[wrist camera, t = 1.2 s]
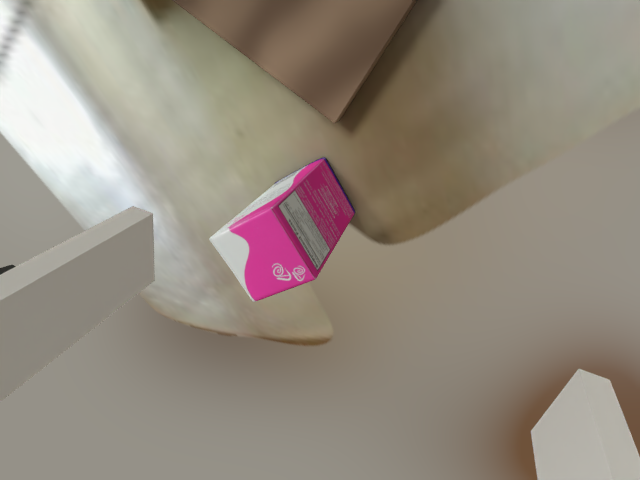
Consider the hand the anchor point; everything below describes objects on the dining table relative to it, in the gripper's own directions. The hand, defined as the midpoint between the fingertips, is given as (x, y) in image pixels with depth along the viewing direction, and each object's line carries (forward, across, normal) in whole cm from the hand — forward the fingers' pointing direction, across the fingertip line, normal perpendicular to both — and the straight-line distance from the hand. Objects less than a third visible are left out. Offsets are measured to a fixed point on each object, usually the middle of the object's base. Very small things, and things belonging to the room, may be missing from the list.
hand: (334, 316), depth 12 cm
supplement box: (+23, -7, -7) cm, 25 cm away
